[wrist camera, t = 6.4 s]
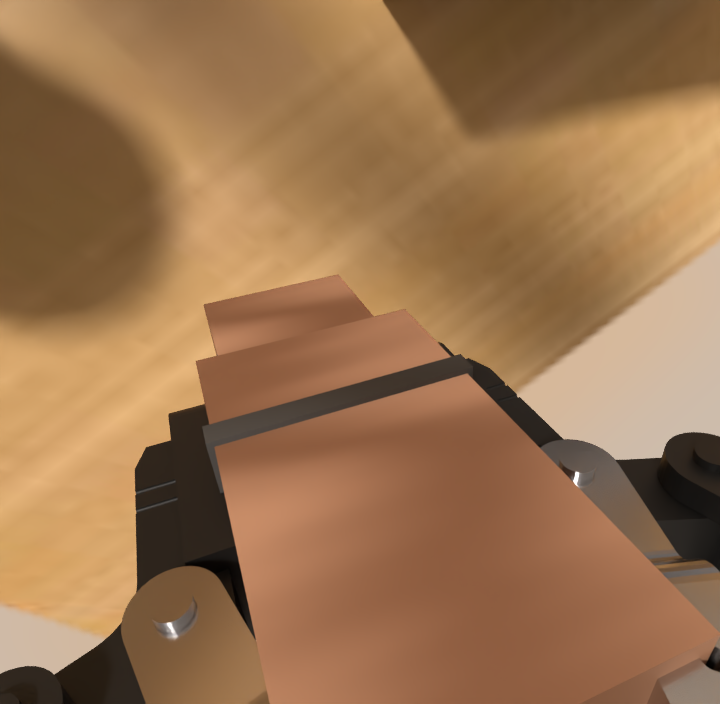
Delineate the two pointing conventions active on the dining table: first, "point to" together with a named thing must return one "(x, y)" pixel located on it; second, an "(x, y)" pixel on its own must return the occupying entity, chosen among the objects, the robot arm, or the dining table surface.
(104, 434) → the dining table surface
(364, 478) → the peg
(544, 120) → the dining table surface
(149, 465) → the robot arm
